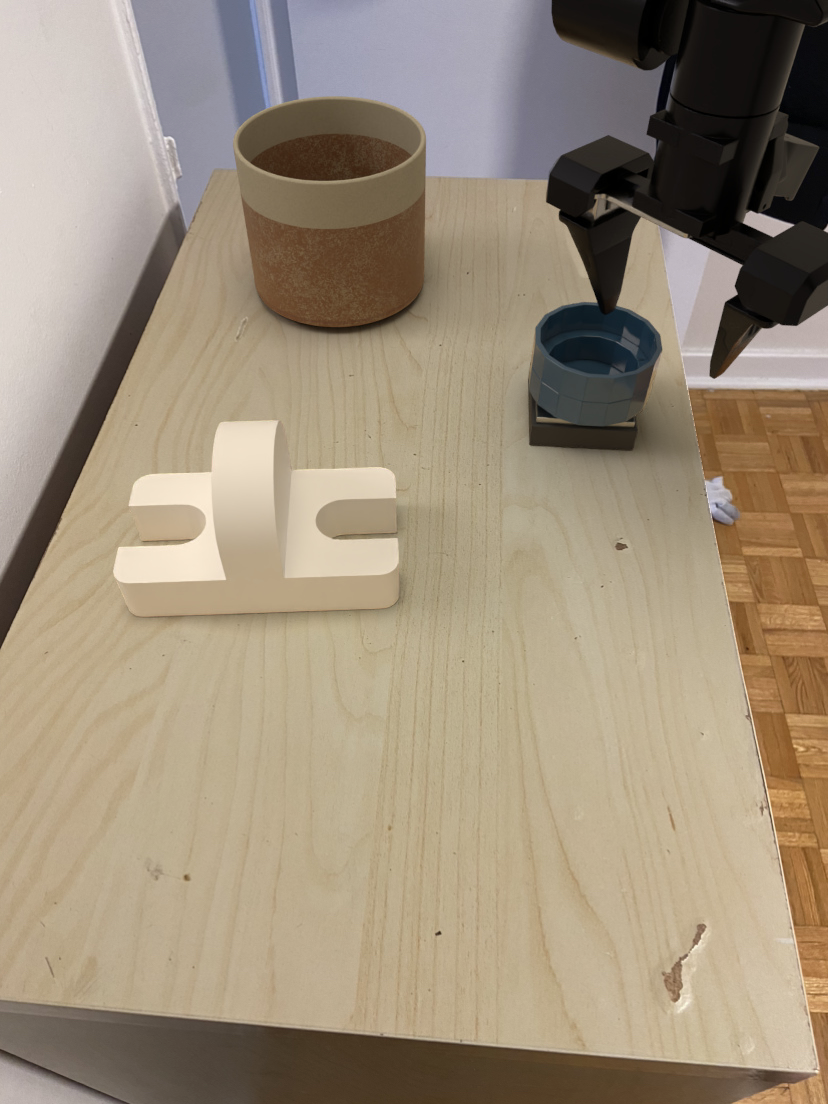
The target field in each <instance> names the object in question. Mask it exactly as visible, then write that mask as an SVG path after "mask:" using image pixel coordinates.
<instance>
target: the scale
mask: <svg viewBox="0 0 828 1104" xmlns="http://www.w3.org/2000/svg"><path fill="white" fill-rule="evenodd" d="M530 365H531V361H530V363H529V366H530ZM529 372H530V368H529V370H528V373H529ZM527 386H528V387H527V394H528V395H527V396H528V397H527V399H528V400H527V401H528V402H527V403H528V439H529V440H528V444H529V446H542V447H543V446H544V447H560V448H580V449H581V448H582V449H600V450H617V451H618V450H620V451H633V450H634V446H635V444H636V440H637V436H638V433H639V431H638V424H637V415H636V416H634V417H632V418H631V419H629V420H628V421H626V422H622V423H617V424H613V425H608V426H586V425H577V424H574V423H571V422H568V421H565V420H562V419H559V418H556V417H554V416H553V415H552V414H550V413H549V412H547V411H546V410H545V409H543V408H542V407H540V406H539V405H538V404H537V403H536V401H535V399H534V398H533V396H532V394H531V393H530V391H529V376H528V378H527Z"/></svg>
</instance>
